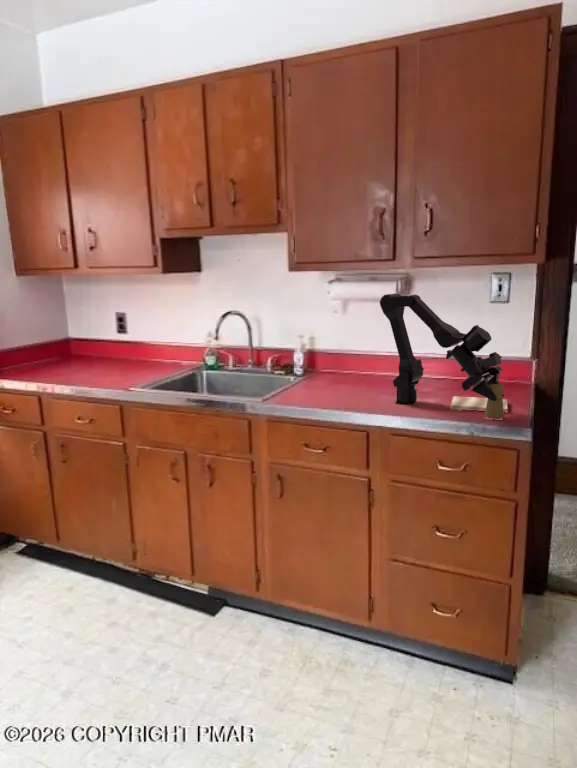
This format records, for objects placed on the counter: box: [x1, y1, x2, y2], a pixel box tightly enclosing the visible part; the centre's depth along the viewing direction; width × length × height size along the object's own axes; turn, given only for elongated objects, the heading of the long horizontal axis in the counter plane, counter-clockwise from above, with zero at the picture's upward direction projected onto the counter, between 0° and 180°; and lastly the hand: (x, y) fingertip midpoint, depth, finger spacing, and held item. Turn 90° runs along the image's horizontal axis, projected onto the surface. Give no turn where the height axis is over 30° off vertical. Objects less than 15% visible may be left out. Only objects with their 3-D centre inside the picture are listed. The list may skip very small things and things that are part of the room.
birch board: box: [450, 395, 508, 413], centre depth 195 cm, size 18×13×2 cm
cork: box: [484, 383, 505, 419], centre depth 180 cm, size 6×6×11 cm
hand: (499, 398), depth 179 cm, fingers closed on cork, 5 cm apart
